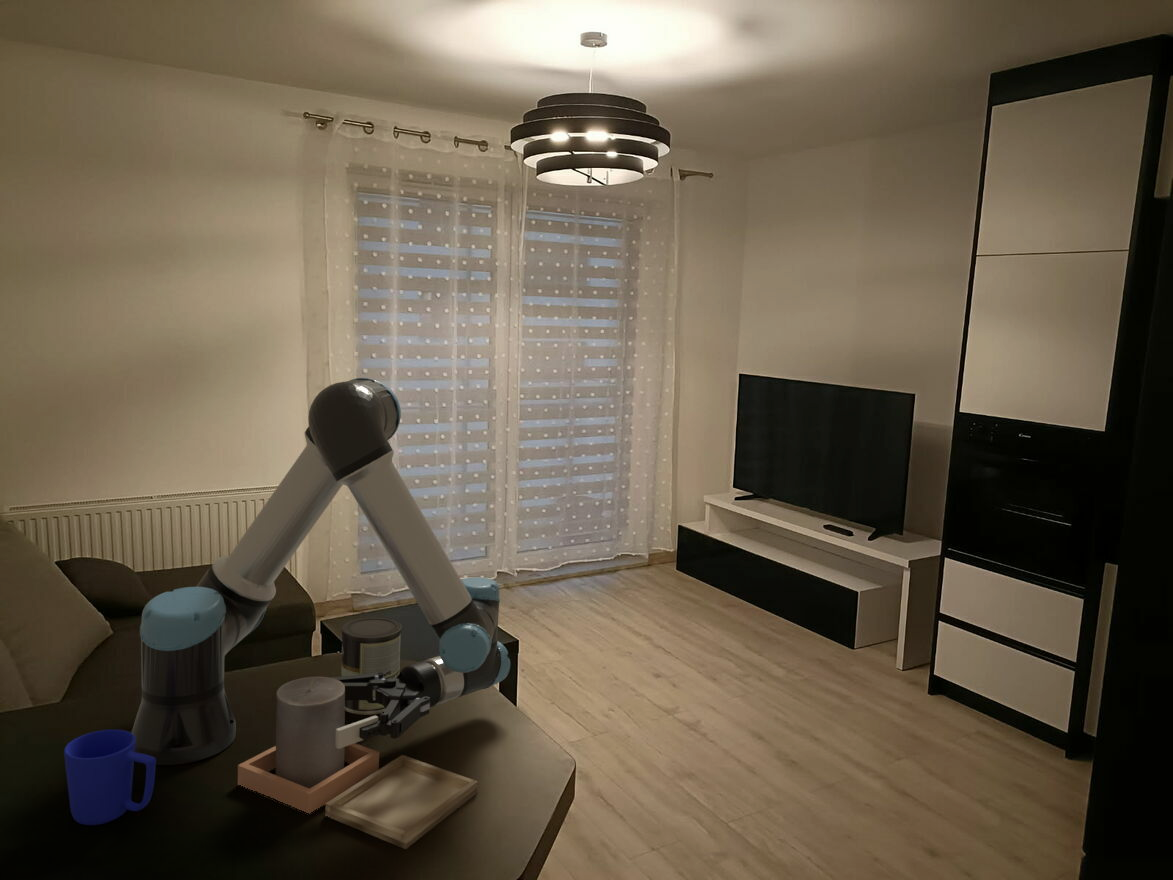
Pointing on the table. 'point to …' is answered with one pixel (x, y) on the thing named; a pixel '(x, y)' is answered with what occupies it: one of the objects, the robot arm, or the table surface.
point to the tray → (401, 800)
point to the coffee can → (370, 655)
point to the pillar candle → (309, 729)
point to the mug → (104, 776)
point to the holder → (300, 797)
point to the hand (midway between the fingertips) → (311, 722)
